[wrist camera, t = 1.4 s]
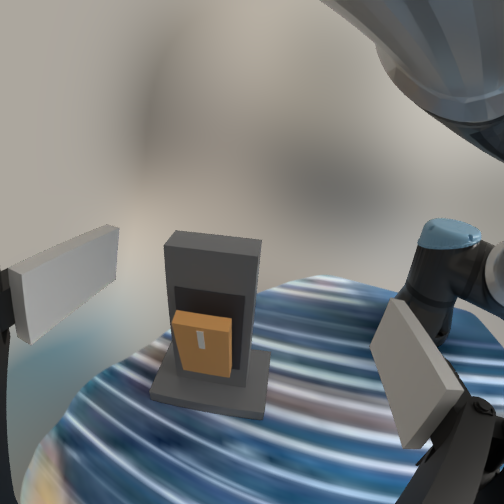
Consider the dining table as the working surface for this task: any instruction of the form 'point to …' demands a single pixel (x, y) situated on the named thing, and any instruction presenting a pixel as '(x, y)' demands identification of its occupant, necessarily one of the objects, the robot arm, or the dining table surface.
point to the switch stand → (222, 305)
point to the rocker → (204, 342)
